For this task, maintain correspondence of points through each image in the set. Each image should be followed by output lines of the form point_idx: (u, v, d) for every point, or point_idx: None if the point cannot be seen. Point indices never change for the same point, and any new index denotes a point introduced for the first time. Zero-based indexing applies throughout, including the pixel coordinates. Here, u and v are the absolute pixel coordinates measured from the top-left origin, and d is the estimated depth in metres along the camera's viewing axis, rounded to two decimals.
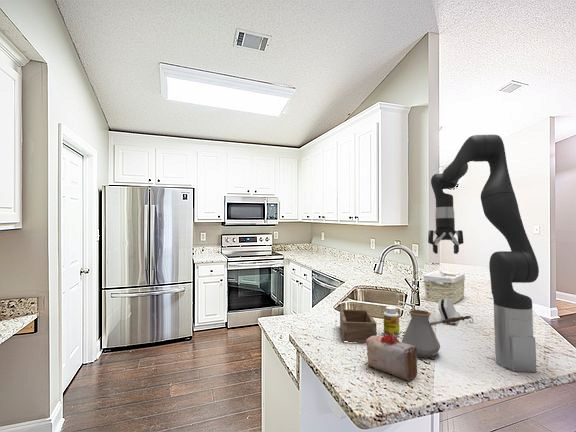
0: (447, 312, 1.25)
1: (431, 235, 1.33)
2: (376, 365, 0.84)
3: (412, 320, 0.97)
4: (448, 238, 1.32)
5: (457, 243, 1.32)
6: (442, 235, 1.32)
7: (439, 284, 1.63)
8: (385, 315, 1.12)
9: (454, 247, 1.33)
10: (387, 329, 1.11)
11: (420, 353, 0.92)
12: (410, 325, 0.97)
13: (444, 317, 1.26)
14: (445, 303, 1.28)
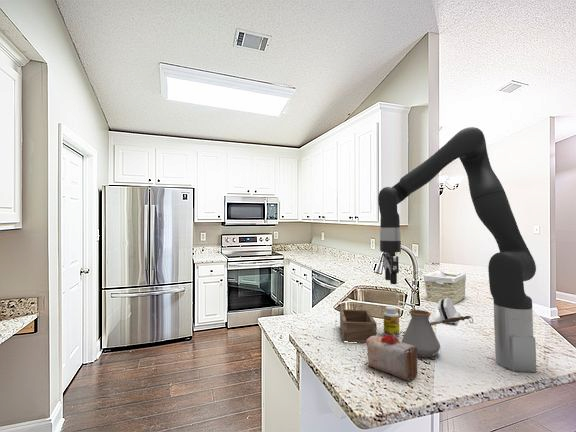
0: (447, 312, 1.26)
1: None
2: (376, 365, 0.84)
3: (412, 320, 0.97)
4: None
5: None
6: None
7: (440, 284, 1.63)
8: (385, 315, 1.12)
9: (387, 273, 1.18)
10: (387, 329, 1.11)
11: (420, 353, 0.92)
12: (410, 325, 0.97)
13: (444, 317, 1.26)
14: (445, 303, 1.28)
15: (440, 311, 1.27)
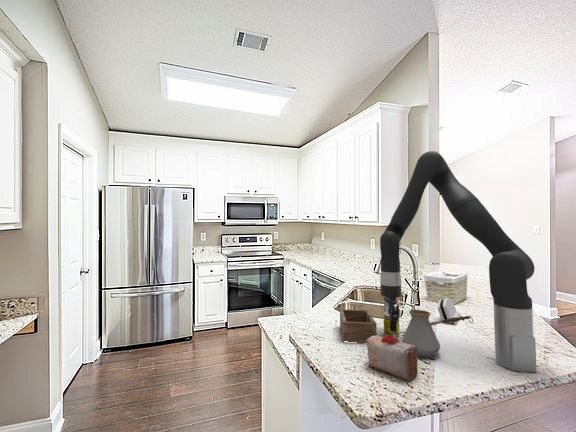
0: (446, 312, 1.26)
1: None
2: (377, 365, 0.84)
3: (412, 320, 0.97)
4: None
5: None
6: None
7: (440, 284, 1.63)
8: (385, 315, 1.12)
9: None
10: (387, 329, 1.11)
11: (420, 353, 0.92)
12: (410, 325, 0.97)
13: (443, 316, 1.26)
14: (444, 303, 1.29)
15: (439, 311, 1.28)
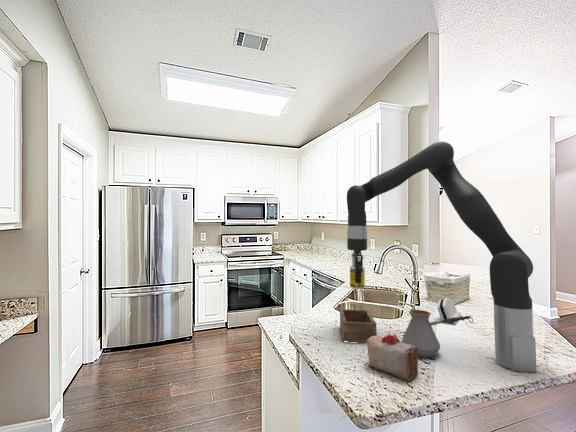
0: (446, 311, 1.26)
1: None
2: (377, 365, 0.84)
3: (412, 320, 0.97)
4: None
5: None
6: None
7: (440, 284, 1.63)
8: (351, 268, 1.14)
9: None
10: (352, 282, 1.13)
11: (420, 353, 0.92)
12: (410, 325, 0.97)
13: (443, 316, 1.27)
14: (444, 302, 1.29)
15: (439, 310, 1.28)
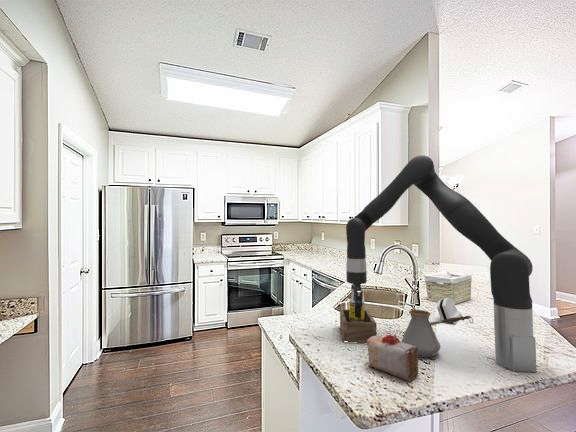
0: (445, 311, 1.27)
1: None
2: (377, 365, 0.84)
3: (412, 320, 0.97)
4: None
5: None
6: (362, 292, 1.12)
7: (440, 284, 1.62)
8: (350, 301, 1.13)
9: None
10: (352, 316, 1.12)
11: (420, 353, 0.92)
12: (410, 325, 0.97)
13: (442, 316, 1.27)
14: (444, 302, 1.30)
15: (439, 310, 1.28)
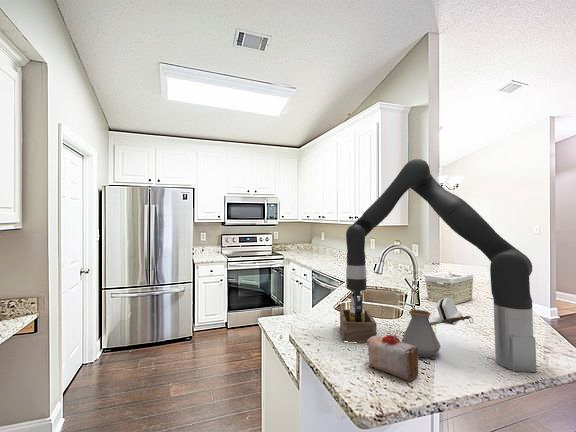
0: (445, 311, 1.27)
1: None
2: (377, 365, 0.84)
3: (412, 320, 0.97)
4: None
5: None
6: None
7: (440, 284, 1.62)
8: (351, 312, 1.12)
9: None
10: None
11: (420, 353, 0.92)
12: (410, 325, 0.97)
13: (442, 316, 1.28)
14: (444, 302, 1.30)
15: (439, 310, 1.29)
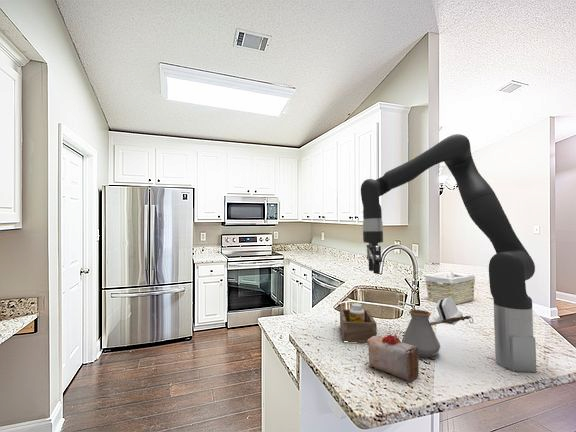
0: (445, 311, 1.27)
1: None
2: (377, 365, 0.84)
3: (412, 320, 0.97)
4: None
5: None
6: None
7: (440, 284, 1.62)
8: (350, 312, 1.12)
9: (370, 264, 1.20)
10: None
11: (420, 353, 0.92)
12: (410, 325, 0.97)
13: (442, 315, 1.28)
14: (444, 302, 1.30)
15: (438, 310, 1.29)
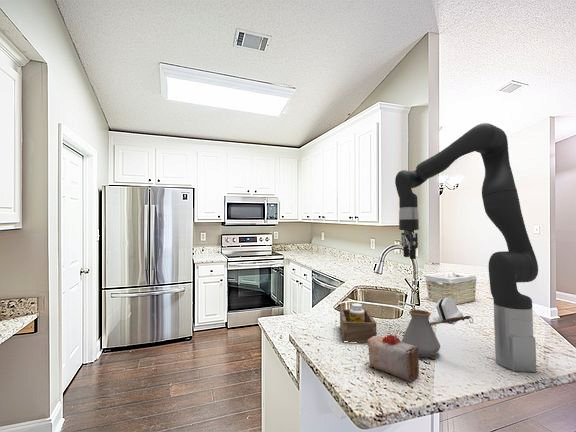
0: (444, 310, 1.28)
1: None
2: (378, 366, 0.84)
3: (412, 320, 0.97)
4: None
5: (408, 246, 1.27)
6: None
7: (440, 284, 1.62)
8: (350, 312, 1.12)
9: (405, 250, 1.27)
10: None
11: (420, 353, 0.92)
12: (410, 325, 0.97)
13: (441, 315, 1.28)
14: (443, 302, 1.30)
15: (438, 309, 1.30)
